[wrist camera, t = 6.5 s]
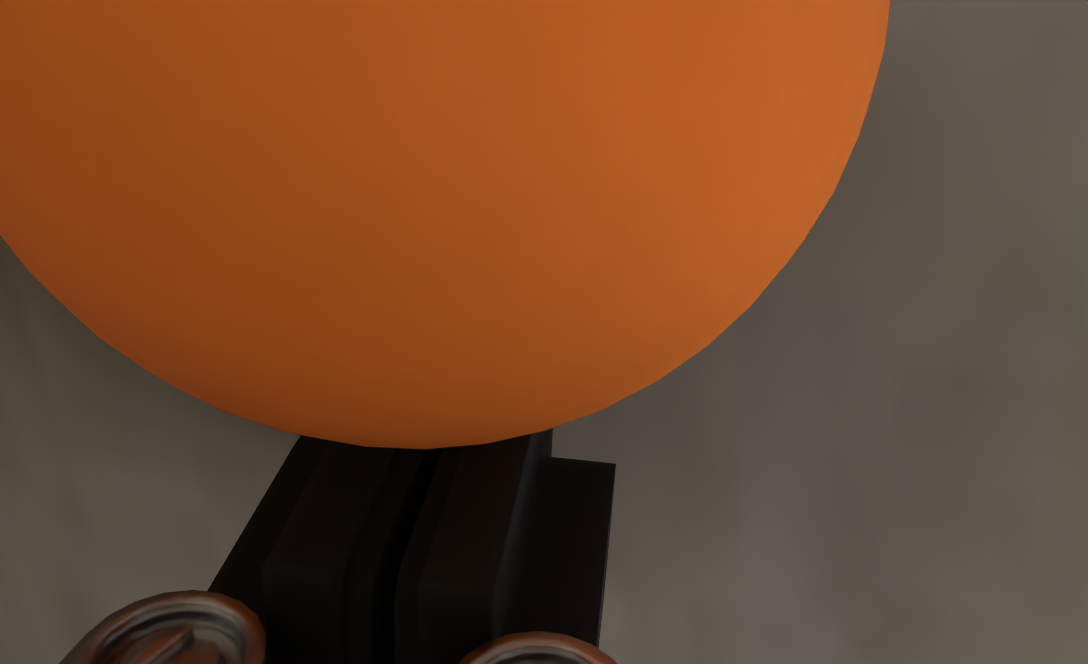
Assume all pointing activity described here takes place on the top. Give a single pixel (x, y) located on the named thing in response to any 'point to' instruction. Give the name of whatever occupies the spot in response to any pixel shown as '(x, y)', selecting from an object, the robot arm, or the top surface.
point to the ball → (421, 192)
